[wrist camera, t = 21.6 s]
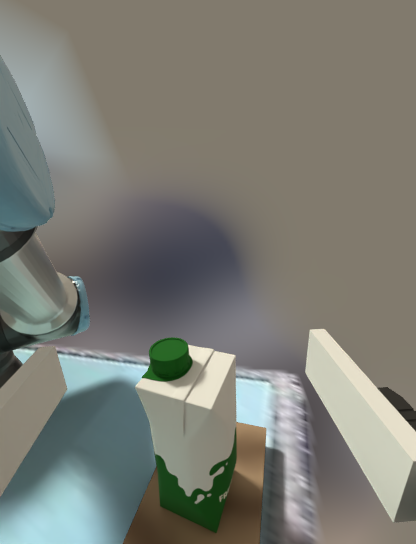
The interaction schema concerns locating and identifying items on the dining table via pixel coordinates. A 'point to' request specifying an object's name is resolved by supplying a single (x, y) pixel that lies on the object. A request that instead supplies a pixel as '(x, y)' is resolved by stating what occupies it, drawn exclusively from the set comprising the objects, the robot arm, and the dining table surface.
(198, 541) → the stand
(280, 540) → the dining table surface
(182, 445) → the soya milk
